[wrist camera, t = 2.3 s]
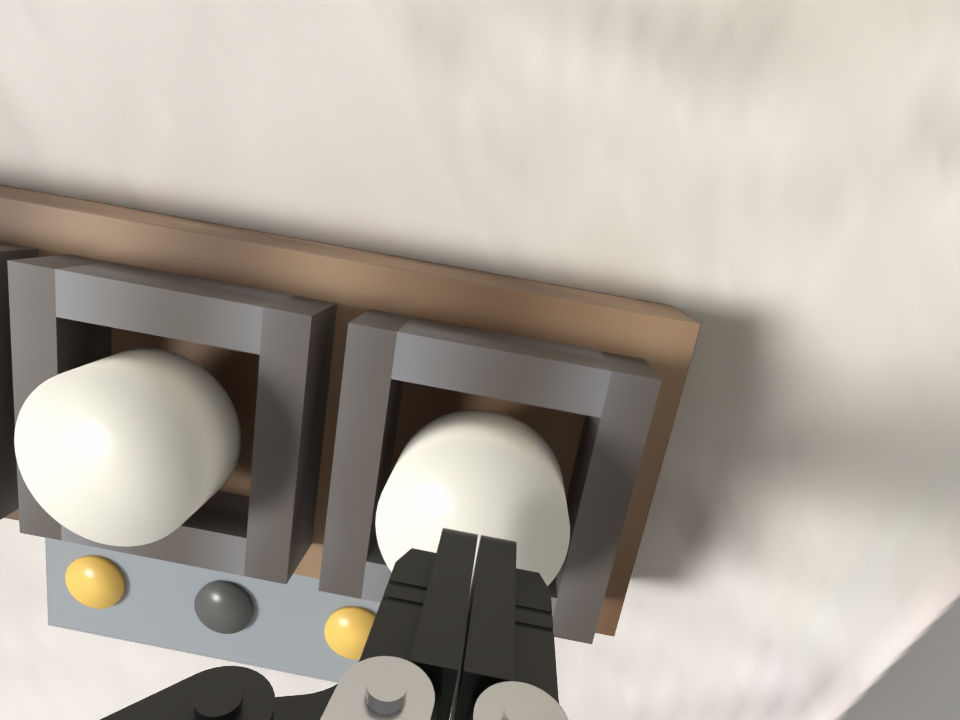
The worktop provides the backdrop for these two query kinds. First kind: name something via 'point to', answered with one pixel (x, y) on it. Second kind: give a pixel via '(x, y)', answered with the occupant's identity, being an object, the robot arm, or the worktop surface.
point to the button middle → (127, 445)
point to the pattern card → (206, 611)
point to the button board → (342, 384)
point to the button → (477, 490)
